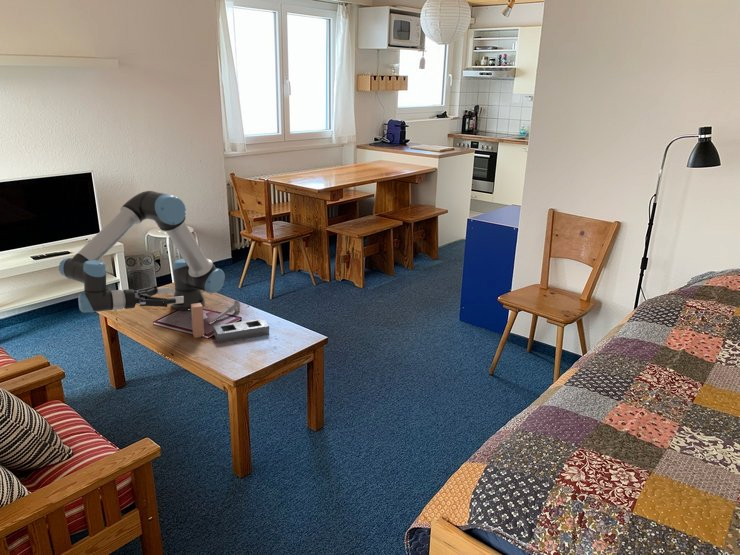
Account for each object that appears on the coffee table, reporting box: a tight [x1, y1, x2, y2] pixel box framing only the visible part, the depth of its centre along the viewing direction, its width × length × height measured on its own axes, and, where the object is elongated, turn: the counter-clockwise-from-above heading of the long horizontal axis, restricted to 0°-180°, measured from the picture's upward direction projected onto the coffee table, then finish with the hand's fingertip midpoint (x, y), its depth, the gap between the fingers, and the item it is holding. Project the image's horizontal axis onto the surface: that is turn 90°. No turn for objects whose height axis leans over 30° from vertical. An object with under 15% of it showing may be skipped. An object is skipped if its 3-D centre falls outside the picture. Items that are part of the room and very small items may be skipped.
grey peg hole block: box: [212, 318, 270, 344], centre depth 245 cm, size 9×22×4 cm, turn 118°
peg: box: [190, 303, 205, 339], centre depth 241 cm, size 4×4×14 cm
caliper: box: [209, 299, 241, 323], centre depth 261 cm, size 20×1×6 cm, turn 152°
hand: (178, 294), depth 233 cm, fingers open, 13 cm apart
